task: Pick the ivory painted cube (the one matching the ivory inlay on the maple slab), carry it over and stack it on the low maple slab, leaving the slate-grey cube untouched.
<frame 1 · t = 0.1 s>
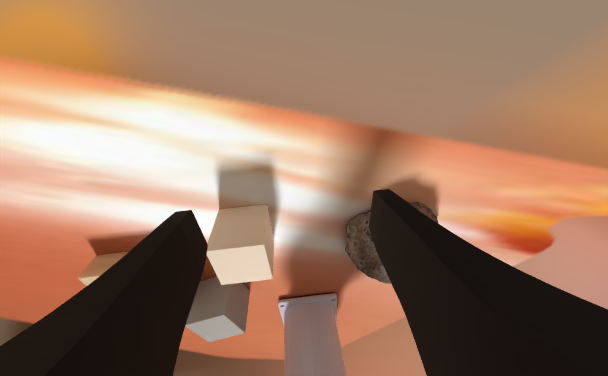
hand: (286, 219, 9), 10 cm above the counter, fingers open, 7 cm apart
slate cube: (225, 286, 28), on the counter
ivory cube: (248, 223, 23), on the counter
maple slab: (154, 271, 26), on the counter
rock: (387, 232, 26), on the counter
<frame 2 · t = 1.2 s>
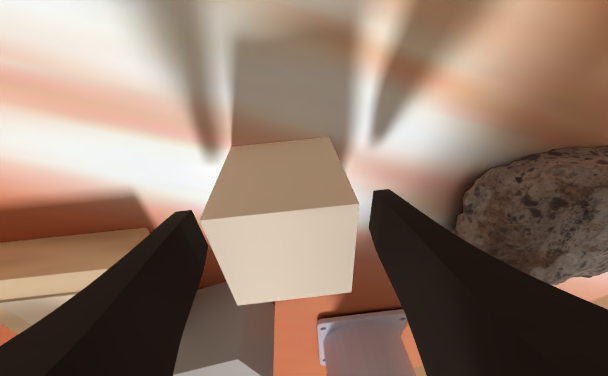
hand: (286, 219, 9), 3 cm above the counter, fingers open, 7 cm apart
slate cube: (235, 298, 17), on the counter
ivory cube: (286, 181, 12), on the counter
maple slab: (115, 273, 15), on the counter
rock: (515, 209, 15), on the counter
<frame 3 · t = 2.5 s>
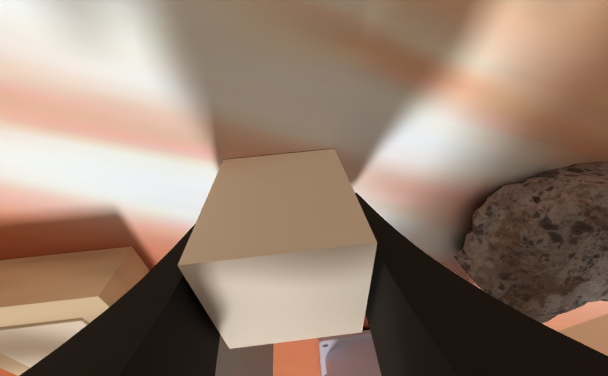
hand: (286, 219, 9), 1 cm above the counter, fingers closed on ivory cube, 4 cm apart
slate cube: (231, 316, 16), on the counter
ivory cube: (285, 198, 11), on the counter, touching gripper
maple slab: (100, 292, 14), on the counter
rock: (526, 226, 14), on the counter
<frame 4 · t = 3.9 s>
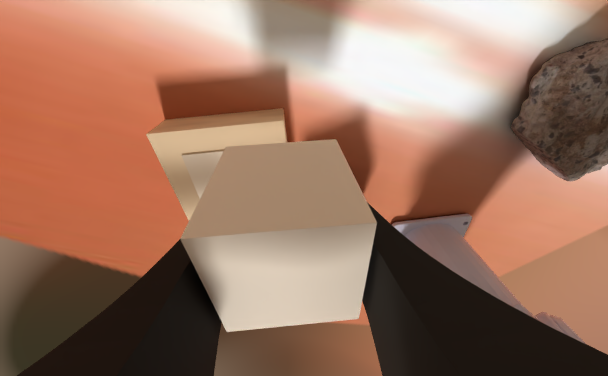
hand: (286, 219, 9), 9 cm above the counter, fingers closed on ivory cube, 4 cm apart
ivory cube: (286, 188, 11), point 7 cm above the counter, touching gripper
maple slab: (239, 163, 18), on the counter
rock: (564, 108, 18), on the counter
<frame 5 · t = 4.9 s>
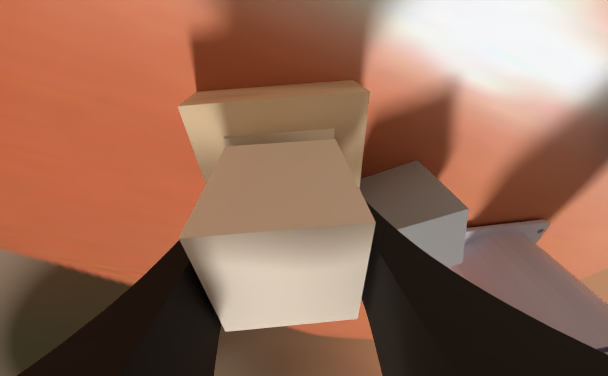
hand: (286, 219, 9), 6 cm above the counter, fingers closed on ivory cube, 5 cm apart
slate cube: (387, 195, 17), on the counter
ivory cube: (285, 187, 11), point 4 cm above the counter, touching gripper
maple slab: (284, 153, 14), on the counter
when the fingers open (6 cm above the counter, at t = 5.6 s): ivory cube drops 1 cm, resting on maple slab.
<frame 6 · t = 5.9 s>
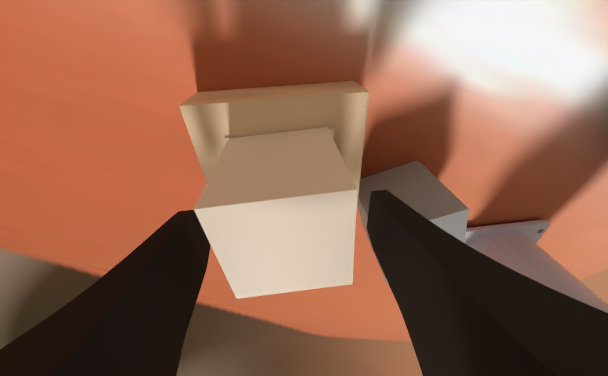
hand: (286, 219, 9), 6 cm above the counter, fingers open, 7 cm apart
slate cube: (387, 195, 17), on the counter
ivory cube: (285, 174, 12), point 3 cm above the counter, touching maple slab
maple slab: (284, 152, 14), on the counter, touching ivory cube
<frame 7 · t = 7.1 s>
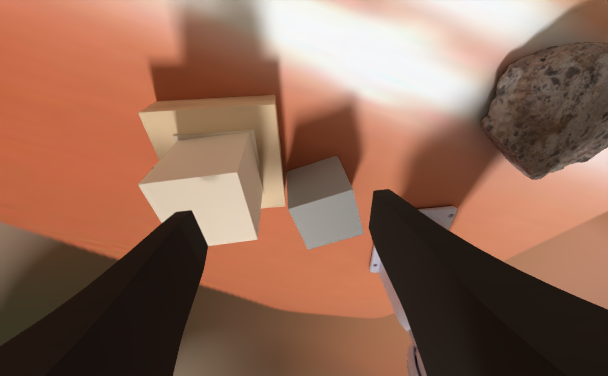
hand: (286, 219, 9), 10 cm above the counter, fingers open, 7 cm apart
slate cube: (318, 183, 21), on the counter
ivory cube: (224, 166, 16), point 3 cm above the counter
maple slab: (230, 148, 18), on the counter
rock: (532, 109, 19), on the counter
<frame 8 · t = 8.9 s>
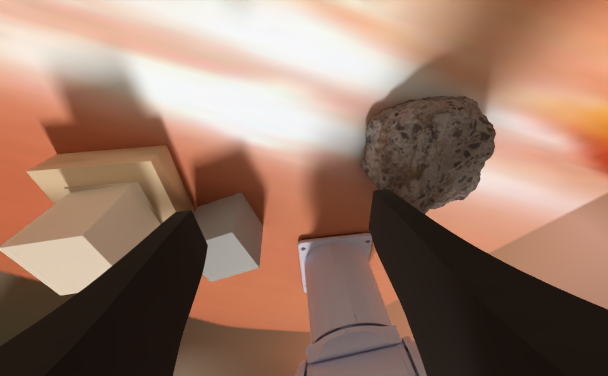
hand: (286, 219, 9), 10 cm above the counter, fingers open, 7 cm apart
slate cube: (231, 216, 22), on the counter
ivory cube: (120, 212, 17), point 3 cm above the counter, touching maple slab
maple slab: (139, 189, 20), on the counter, touching ivory cube
rock: (415, 150, 20), on the counter
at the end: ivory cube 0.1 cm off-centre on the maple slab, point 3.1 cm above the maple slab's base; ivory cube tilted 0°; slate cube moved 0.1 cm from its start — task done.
